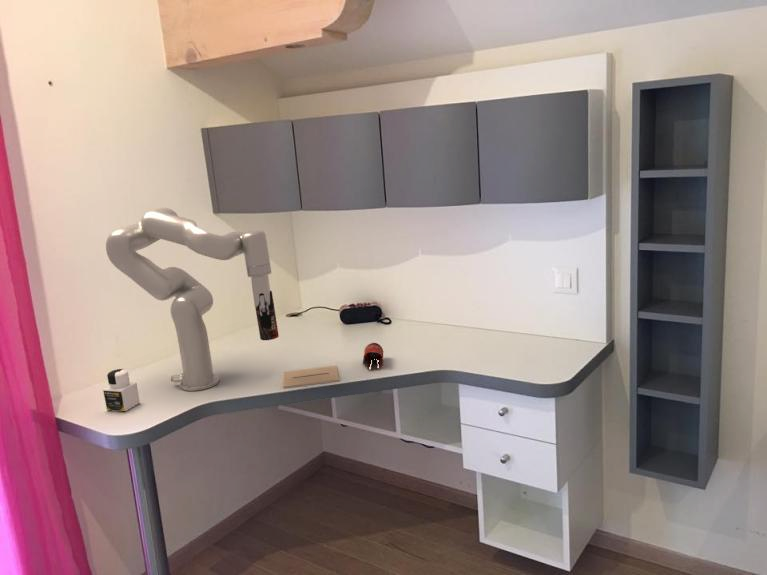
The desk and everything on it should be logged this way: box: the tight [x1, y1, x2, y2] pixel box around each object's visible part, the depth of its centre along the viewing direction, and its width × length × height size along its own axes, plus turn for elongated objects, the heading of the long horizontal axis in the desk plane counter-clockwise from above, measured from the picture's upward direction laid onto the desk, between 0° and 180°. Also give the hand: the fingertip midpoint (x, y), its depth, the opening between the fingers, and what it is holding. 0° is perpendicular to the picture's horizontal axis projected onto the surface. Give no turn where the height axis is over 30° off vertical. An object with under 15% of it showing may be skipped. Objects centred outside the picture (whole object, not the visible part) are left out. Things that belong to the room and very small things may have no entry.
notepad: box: [282, 365, 340, 389], centre depth 217 cm, size 18×14×1 cm
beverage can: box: [362, 342, 384, 371], centre depth 223 cm, size 7×12×7 cm, turn 179°
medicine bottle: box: [102, 368, 141, 412], centre depth 204 cm, size 7×7×12 cm
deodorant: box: [254, 290, 279, 341], centre depth 210 cm, size 6×6×15 cm
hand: (267, 323), depth 211 cm, fingers closed on deodorant, 5 cm apart
